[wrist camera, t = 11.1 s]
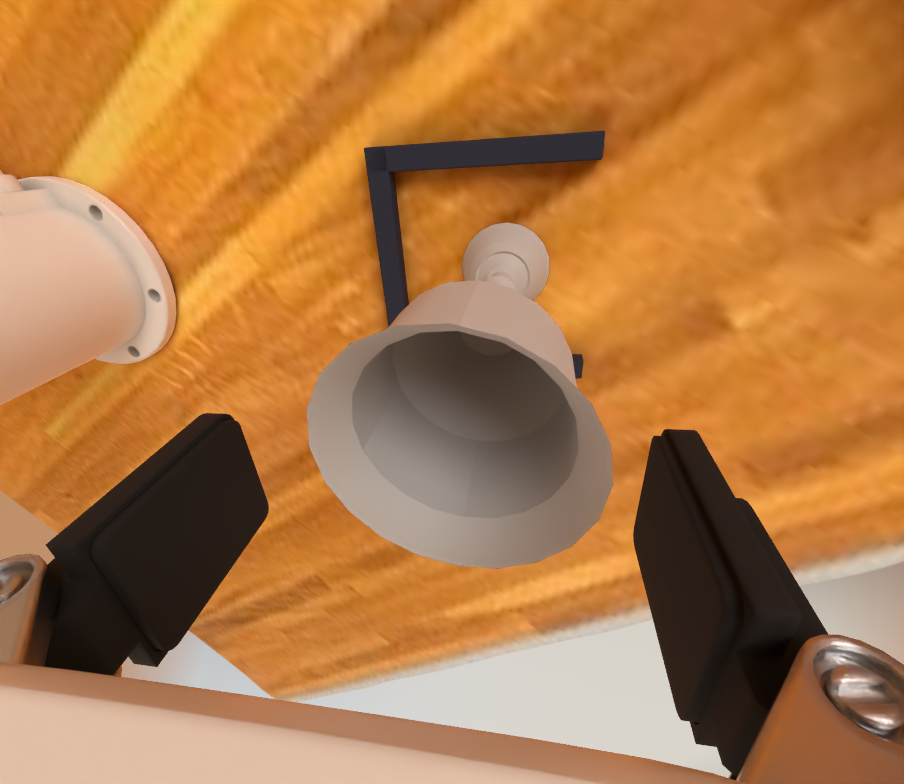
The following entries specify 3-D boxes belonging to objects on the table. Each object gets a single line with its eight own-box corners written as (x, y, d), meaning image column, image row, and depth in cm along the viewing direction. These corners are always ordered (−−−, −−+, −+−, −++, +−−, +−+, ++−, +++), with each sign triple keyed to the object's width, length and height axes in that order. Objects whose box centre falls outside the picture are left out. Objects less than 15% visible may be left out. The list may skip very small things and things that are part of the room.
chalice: (422, 275, 27) (263, 462, 11) (492, 174, 23) (400, 246, 8) (516, 346, 28) (487, 603, 12) (595, 261, 24) (688, 468, 9)
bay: (399, 367, 30) (395, 374, 29) (369, 147, 24) (363, 147, 23) (580, 371, 28) (581, 378, 27) (602, 131, 21) (605, 130, 21)
